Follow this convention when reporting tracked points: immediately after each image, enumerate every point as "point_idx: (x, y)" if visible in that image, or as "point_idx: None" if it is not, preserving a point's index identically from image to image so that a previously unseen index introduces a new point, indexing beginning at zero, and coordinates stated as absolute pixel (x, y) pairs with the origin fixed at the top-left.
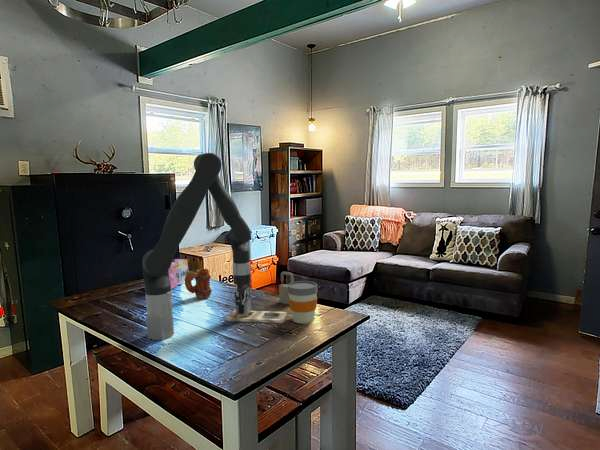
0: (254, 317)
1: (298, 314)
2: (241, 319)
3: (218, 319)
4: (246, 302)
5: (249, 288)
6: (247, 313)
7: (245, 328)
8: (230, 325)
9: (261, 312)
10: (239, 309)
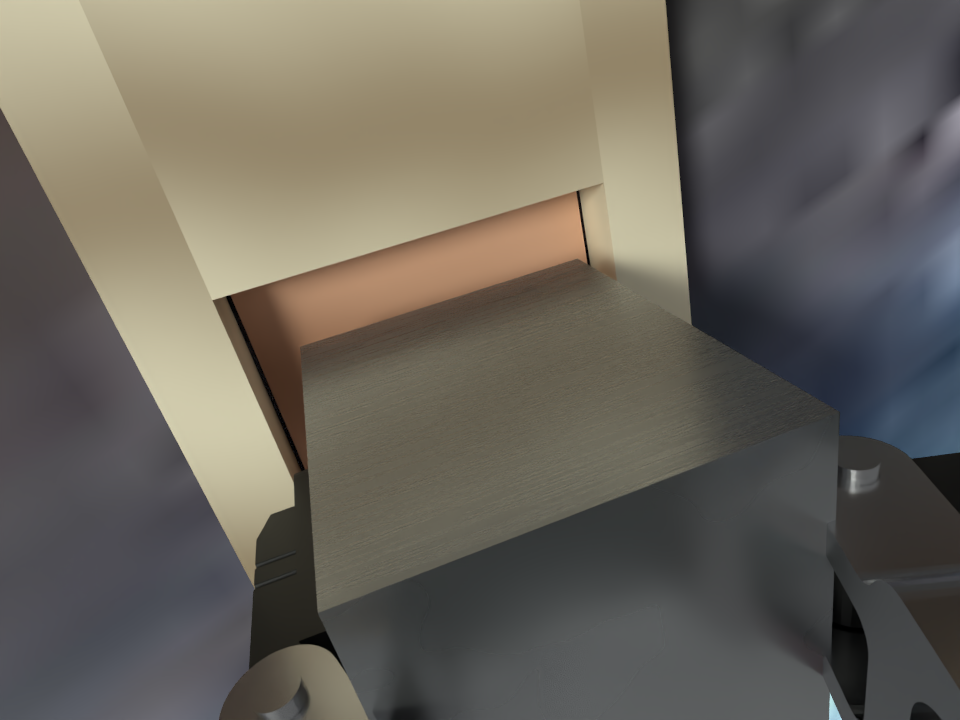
0: (551, 63)
1: None
2: (682, 300)
3: None
4: (823, 417)
5: None
6: (592, 274)
7: (932, 18)
8: (827, 352)
9: (126, 67)
10: None
